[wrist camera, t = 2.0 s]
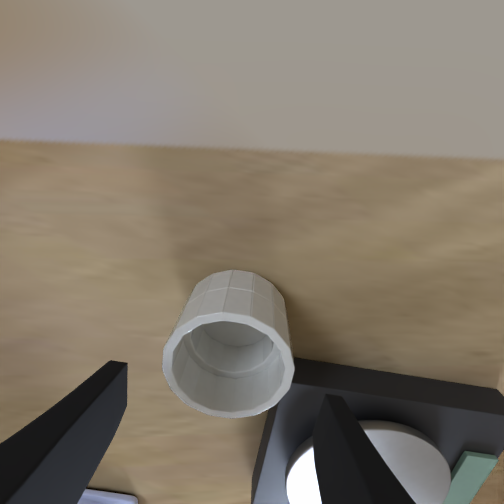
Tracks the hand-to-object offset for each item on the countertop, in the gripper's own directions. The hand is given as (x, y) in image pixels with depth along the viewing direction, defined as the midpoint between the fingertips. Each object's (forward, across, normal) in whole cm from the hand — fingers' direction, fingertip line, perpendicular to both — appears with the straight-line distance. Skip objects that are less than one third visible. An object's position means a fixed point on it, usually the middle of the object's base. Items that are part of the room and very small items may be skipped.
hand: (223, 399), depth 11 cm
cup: (+6, 0, 0) cm, 6 cm away
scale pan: (+3, -9, +8) cm, 12 cm away
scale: (+6, -10, +8) cm, 14 cm away
